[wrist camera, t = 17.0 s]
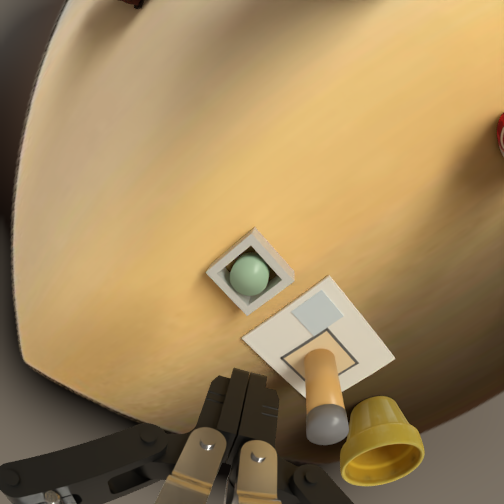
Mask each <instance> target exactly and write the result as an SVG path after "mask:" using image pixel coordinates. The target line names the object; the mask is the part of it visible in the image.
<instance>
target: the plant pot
mask: <svg viewBox="0 0 504 504" xmlns="http://www.w3.org/2000/svg"><path fill="white" fill-rule="evenodd" d="M423 458H424V447H423V443H422V440H421V437H420V434H419V432H418V430H417V429H416V428H415V427H413V426H412V425H409V423H408V422H407V420H406V418H405V417H404V415H403V414H402V412H401V410H400V409H399V407H398V405H397V404H396V402H395V401H394V400H393V399H391V398H389V397H385V396H376V397H371V398H368V399H366V400H364V401H362V402H360V403H359V404H357V405H356V406H355V407H354V409H353V410H352V412H351V415H350V423H349V433H348V435H347V440H346V443H345V444H344V445H343V447H342V449H341V452H340V468H341V469H340V470H341V476H342V477H343V479H344V480H345V481H347V482H348V483H350V484H353V485H358V486H376V485H382V484H386V483H389V482H393V481H395V480H397V479H400V478H402V477H404V476H406V475H407V474H409V473H411V472H412V471H413V470H414V469H415V468H417V467H418V466H419V464H420V463H421V462H422V460H423Z"/></svg>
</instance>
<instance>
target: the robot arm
mask: <svg viewBox="0 0 504 504" xmlns="http://www.w3.org/2000/svg"><path fill="white" fill-rule="evenodd" d="M266 380H267V376H263V375H260V374H256V373H252V372H251V373H250V375H249V372H248V371H244V370H240V369H237V368H233V372H232V375H231V378H226V377H223V376H218V377H216V378H215V379H214V380H213V381H212V382H211V385H210V388H209V391H208V393H207V396H206V399H205V402H204V405H203V408H202V411H201V414H200V416H199V419H198V422H197V425H196V427H195V428H194V429H193V430H192V431H190V432H188V433H185V434H178V435H176V434H166V433H165V432H164V431H163V430H162V429H161V428H160V427H158V426H156V425H154V424H149V423H144V424H139V425H136V426H134V427H131V428H128V429H125V430H123V431H120V432H117V433H114V434H111V435H108V436H105V437H102V438H99V439H96V440H93V441H90V442H87V443H83V444H80V445H77V446H73V447H70V448H66V449H63V450H59V451H55V452H52V453H48V454H44V455H40V456H36V457H32V458H28V459H23V460H19V461H15V462H9V463H5V464H3V465H1V466H0V490H1V491H2V492H3V493H4V494H5V495H6V496H7V498H8V499H9V500H10V501H11V502H12V503H13V504H103V503H106V502H109V501H111V500H114V499H117V498H119V497H122V496H125V495H127V494H130V493H132V492H134V491H137V490H139V489H141V488H144V487H146V486H148V485H151V484H153V483H155V482H157V481H159V480H166V481H165V483H164V485H163V487H162V489H161V491H160V493H159V495H158V497H157V499H156V501H155V503H154V504H206V502H207V499H208V496H209V493H210V491H211V487H212V485H213V482H214V479H215V476H216V475H217V473H218V471H219V468H220V466H221V463H225V461H226V458H227V456H228V458H227V462H226V464H230V465H232V466H231V470H230V474H229V476H228V478H227V484H226V492H225V499H224V504H354V503H353V502H352V501H351V500H350V499H349V498H348V497H347V496H346V495H345V494H344V492H343V491H342V490H341V489H340V488H339V487H338V486H337V485H336V483H335V482H334V481H333V480H332V479H331V478H330V477H329V476H328V474H327V473H326V472H325V471H324V470H323V469H322V468H320V467H318V466H316V465H311V464H306V465H302V466H300V467H298V466H295V465H293V464H291V463H289V462H287V461H285V460H284V459H282V458H281V457H280V456H279V454H278V453H277V451H276V449H275V438H276V428H277V416H278V407H279V398H278V395H277V393H276V390H273V389H269V388H265V387H266Z"/></svg>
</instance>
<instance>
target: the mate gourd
mask: <svg viewBox="0 0 504 504" xmlns="http://www.w3.org/2000/svg"><path fill="white" fill-rule="evenodd" d="M120 1H123V2H125V3H128V4H133V5H134V8H136V9H140V8H142V5H143V1H144V0H120Z"/></svg>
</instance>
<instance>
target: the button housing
mask: <svg viewBox="0 0 504 504" xmlns="http://www.w3.org/2000/svg"><path fill="white" fill-rule="evenodd" d="M250 246H252V247H253V248H254V249H255V250H256V252H257V253H258V254H259V255H260V256H261V257H262V258H263V259H264V260H265V262H266V263H267V264H268V265H269V266H270V267H271V268H272V269H273V270H274V272H275V273H276V274H277V276H275V277H274V278H273V279H271V280H270V281H269V282H268V283H267V286H266V288H265V289H264V290H263V291H262V292H261V293H259V294H257V295H254V296H246V295H243V294H240V293H239V292H237V291H236V290H235V289H234V288H233V286H232V285H231V282H230V272H229V271H228V270H227V269H226V268H225V266H227V265H228V264H229V263H230V262H232V261H233V260H234V259H235V258H236V257H238V256H239V255H240V254H241V253H242V252H244V251H245V250H246V249H247V248H248V247H250ZM206 273H207V275H208V276H209V277H210V278H211V279H212V280H213V281H214V282H215V283H216V284H217V285H218V286H219V287H220V288H221V289H222V290H223V291H224V293H225V294H226V295H227V296H228V297H229V298H230V299H231V300H232V301H233V302H234V303H235V304H236V305H237V306H238V307H239V308H240V309H241V310H242V311H243V312H244V313H245V314H246V315H247V316H248V315H249V314H250V313H252V312H253V311H255V310H256V309H257V308H259V307H260V306H262V305H263V304H264V303H266V302H267V301H268V300H270V299H271V298H272V297H274V296H275V295H277V294H278V293H279V292H281V291H282V290H283V289H285V288H286V287H287V286H289V285H290V284H291V283H293V282H294V270H293V269H292V268H291V267H290V266H289V265H288V264H287V262H286V261H285V260H284V259H283V258H282V257H281V256H280V255H279V253H278V252H277V251H276V250H275V249H274V248H273V247H272V245H271V244H270V243H269V242H268V241H267V240H266V239H265V238H264V236H263V235H262V234H261V233H260V232H259V231H258V230H257V229H256V227H254V228H253V229H252V230H251V231H249V232H248V233H247V234H246V235H245V236H243V237H242V238H241V239H240V240H239V241H238V242H236V243H235V244H234V245H233V246H232V247H230V248H229V249H228V250H227V251H226V252H225V253H223V254H222V255H221V256H220V257H219V258H218V259H216V260H215V261H214V262H213V263H212V264H211V265H210V267H209V268H208V270H207V271H206Z"/></svg>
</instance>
